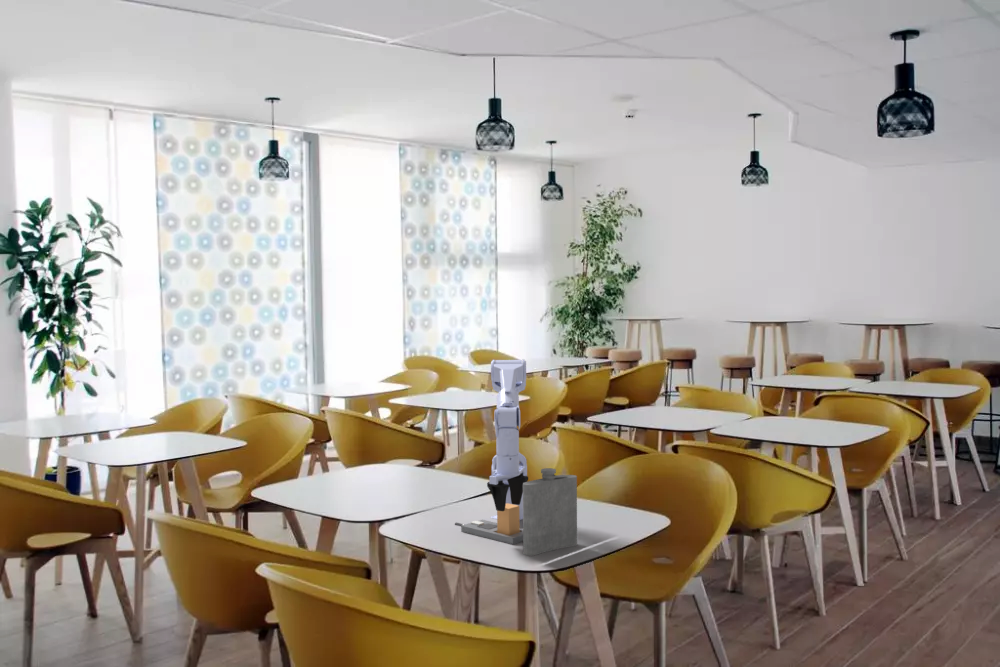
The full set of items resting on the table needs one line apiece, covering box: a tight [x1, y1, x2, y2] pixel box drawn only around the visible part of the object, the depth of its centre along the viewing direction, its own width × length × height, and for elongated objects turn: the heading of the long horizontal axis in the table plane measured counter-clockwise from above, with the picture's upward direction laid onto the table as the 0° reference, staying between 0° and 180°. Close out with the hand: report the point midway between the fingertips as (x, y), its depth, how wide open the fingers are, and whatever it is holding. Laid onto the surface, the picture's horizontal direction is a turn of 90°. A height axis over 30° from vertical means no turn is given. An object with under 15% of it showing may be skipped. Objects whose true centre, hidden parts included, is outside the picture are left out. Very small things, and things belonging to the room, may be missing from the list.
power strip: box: [454, 519, 523, 545], centre depth 232 cm, size 8×24×2 cm, turn 47°
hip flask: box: [522, 467, 578, 557], centre depth 217 cm, size 16×4×20 cm, turn 126°
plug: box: [496, 503, 521, 536], centre depth 227 cm, size 4×4×8 cm
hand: (508, 507), depth 227 cm, fingers open, 7 cm apart
